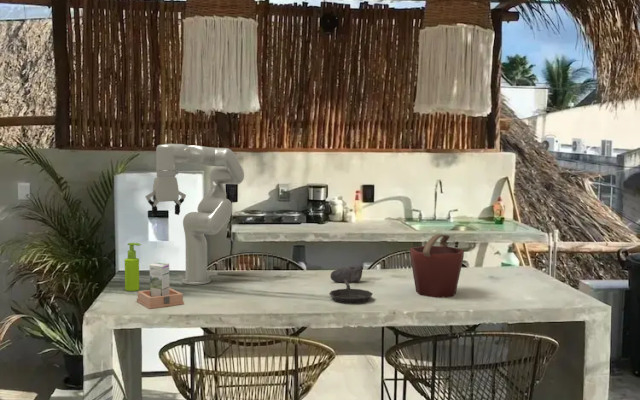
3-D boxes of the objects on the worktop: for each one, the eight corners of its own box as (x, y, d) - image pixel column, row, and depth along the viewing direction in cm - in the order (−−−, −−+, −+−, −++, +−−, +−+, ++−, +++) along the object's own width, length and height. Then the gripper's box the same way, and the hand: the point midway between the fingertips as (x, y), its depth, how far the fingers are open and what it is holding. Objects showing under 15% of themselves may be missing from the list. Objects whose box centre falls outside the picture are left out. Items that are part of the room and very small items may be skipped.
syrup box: (170, 299, 273) (169, 262, 272) (162, 302, 267) (161, 265, 266) (157, 297, 275) (157, 261, 273) (149, 301, 269) (148, 264, 268)
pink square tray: (170, 297, 281) (170, 287, 280) (184, 304, 269) (184, 294, 269) (136, 301, 273) (136, 291, 272) (149, 308, 261) (149, 298, 261)
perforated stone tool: (330, 283, 310) (331, 268, 310) (329, 281, 315) (329, 266, 315) (363, 283, 312) (364, 268, 311) (362, 281, 317) (362, 266, 316)
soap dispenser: (137, 291, 290) (137, 244, 288) (122, 290, 291) (121, 243, 289) (144, 288, 296) (143, 242, 294) (129, 287, 297) (128, 241, 295)
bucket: (433, 284, 310) (434, 229, 308) (475, 293, 294) (477, 235, 292) (398, 293, 293) (400, 234, 291) (441, 302, 277) (443, 240, 275)
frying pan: (331, 305, 271) (331, 295, 271) (324, 287, 303) (324, 279, 302) (376, 304, 272) (376, 295, 272) (364, 287, 304) (364, 279, 304)
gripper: (181, 173, 295) (182, 213, 296) (142, 174, 285) (143, 215, 287) (188, 174, 289) (189, 214, 290) (149, 175, 279) (149, 217, 281)
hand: (166, 215), depth 288 cm, fingers open, 9 cm apart
